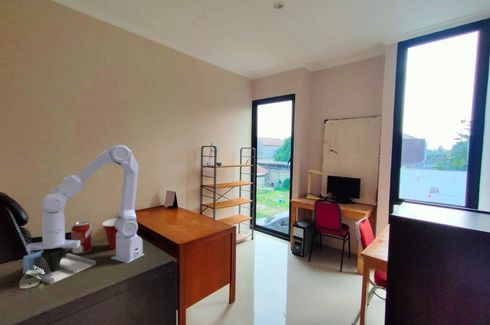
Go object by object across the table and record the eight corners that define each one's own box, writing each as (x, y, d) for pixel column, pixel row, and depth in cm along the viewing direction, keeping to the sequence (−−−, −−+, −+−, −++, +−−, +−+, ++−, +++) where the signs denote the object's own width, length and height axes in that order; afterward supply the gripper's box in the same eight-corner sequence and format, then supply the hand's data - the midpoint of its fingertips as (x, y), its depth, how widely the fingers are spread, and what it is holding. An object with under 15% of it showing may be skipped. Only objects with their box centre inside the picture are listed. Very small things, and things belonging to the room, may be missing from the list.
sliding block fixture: (95, 265, 83) (95, 248, 83) (50, 285, 70) (50, 265, 70) (68, 257, 90) (68, 241, 89) (23, 274, 77) (22, 256, 77)
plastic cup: (99, 247, 100) (99, 220, 99) (126, 240, 107) (125, 215, 107) (106, 255, 92) (105, 225, 92) (134, 247, 100) (134, 220, 99)
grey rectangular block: (59, 269, 79) (58, 257, 79) (46, 274, 76) (46, 261, 76) (44, 263, 83) (43, 251, 83) (31, 268, 80) (31, 255, 80)
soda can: (81, 256, 91) (81, 226, 91) (67, 254, 92) (67, 225, 92) (95, 249, 98) (95, 221, 97) (82, 248, 99) (82, 220, 99)
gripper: (84, 224, 81) (84, 262, 81) (36, 227, 78) (37, 266, 78) (73, 231, 74) (74, 272, 74) (21, 234, 71) (22, 277, 71)
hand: (54, 270), depth 76 cm, fingers closed
